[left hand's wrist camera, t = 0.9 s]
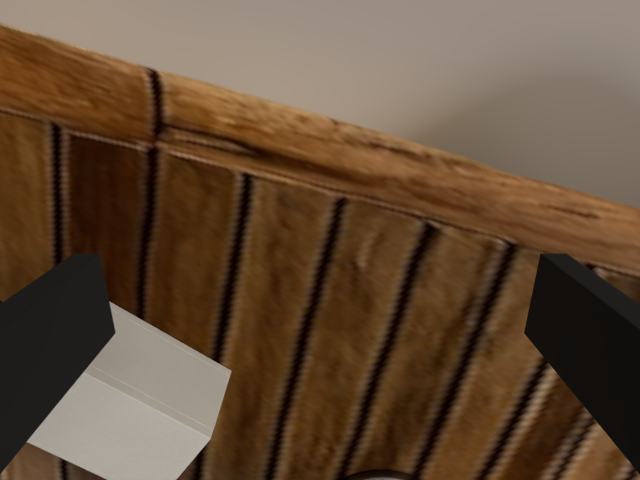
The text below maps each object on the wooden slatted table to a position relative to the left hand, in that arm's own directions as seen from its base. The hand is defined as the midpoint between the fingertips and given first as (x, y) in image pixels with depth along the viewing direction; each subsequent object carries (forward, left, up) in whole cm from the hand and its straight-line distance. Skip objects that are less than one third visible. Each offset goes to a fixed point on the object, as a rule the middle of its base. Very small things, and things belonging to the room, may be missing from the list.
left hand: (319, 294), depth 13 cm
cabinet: (-25, +15, -26) cm, 39 cm away
